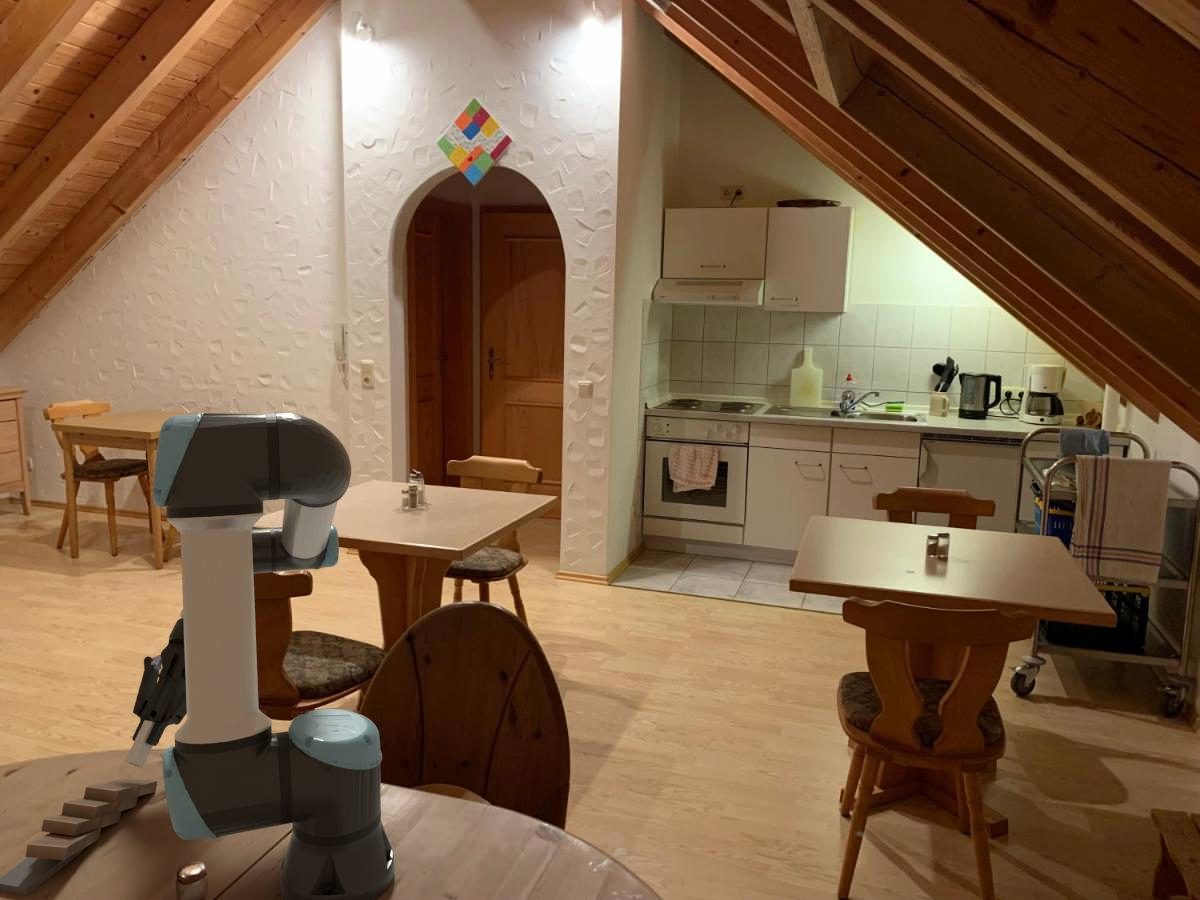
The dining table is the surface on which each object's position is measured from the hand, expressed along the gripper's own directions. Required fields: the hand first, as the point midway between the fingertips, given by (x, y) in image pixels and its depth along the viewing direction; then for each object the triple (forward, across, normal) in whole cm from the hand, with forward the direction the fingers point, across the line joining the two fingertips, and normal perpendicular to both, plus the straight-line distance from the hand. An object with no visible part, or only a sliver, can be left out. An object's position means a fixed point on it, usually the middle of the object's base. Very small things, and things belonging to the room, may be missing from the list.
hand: (133, 764), depth 141 cm
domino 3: (+13, 0, +6) cm, 14 cm away
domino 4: (+5, 0, -2) cm, 5 cm away
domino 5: (+2, +1, -5) cm, 5 cm away
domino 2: (+11, -1, +5) cm, 12 cm away
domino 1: (+8, 0, +1) cm, 8 cm away
